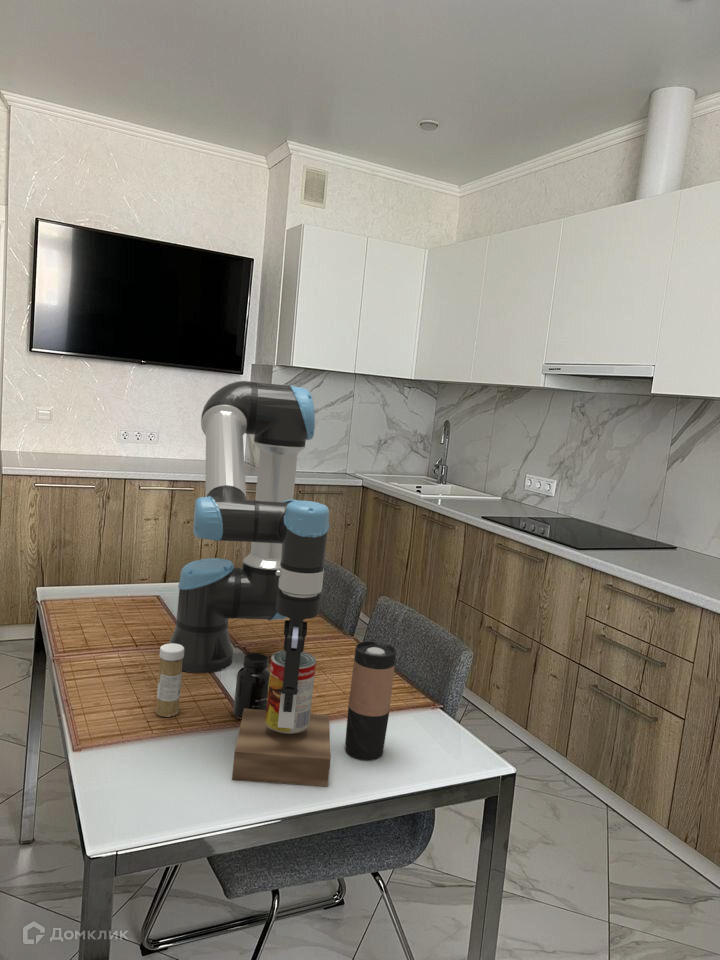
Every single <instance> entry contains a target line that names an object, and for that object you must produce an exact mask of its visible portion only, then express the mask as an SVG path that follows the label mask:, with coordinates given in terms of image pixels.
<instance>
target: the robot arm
mask: <svg viewBox="0 0 720 960" xmlns="http://www.w3.org/2000/svg"><path fill="white" fill-rule="evenodd" d="M315 417H316V415H315V405H314V400H313V396H312V393H311V392H310V390H308V389H307V388H304V387H299V386H294V385H291V384H289V385H288V384H275V383H267V382H265V383H264V382H255V381H248V380H240V381H235V382H231V383H228V384H226V385H224V386H223V387H221V388H219V389H218V390H217V391H215V392H214V393H213V394H212V395H211V396H210V397H209V398H208V400H207V401H206V403H205V405H204V406H203V409H202V412H201V417H200V424H201V425H200V426H201V430H202V432H203V434H204V436H205V478H204V479H205V481H204V483H205V485H204V486H205V489H204V490H205V491H204V492H205V495H204V496H201V497H197V499H196V500H195V503H194V513H193V528H192V529H193V530H192V531H193V535H194V536H195V538H198V539H202V540H211V541H215V542H217V541H218V542H219V541H220V542H221V541H224V542H227V541H229V542H248V543H251V545H250V552H249V554H248V555H246V556H245V557H244V558H243V559H242V560H243V561H242V566H241V567H235V565H234V563H233V561H232V560H230V559H225V558H220V557H212V558H211V557H210V558H201V559H197V560H193V561H191V562H189V563H186V564H185V565H183V567H182V568H181V570H180V576H179V577H180V578H179V582H178V585H177V588H178V598H177V599H178V600H177V611H176V620H175V628H174V631H173V633H172V636H171V637H170V640H169V643H168V644H170V643H175V644H180V645H182V646H183V647H184V657H183V662H182V672H187V673H193V672H194V673H193V674H195V673H197V674H203V673H204V674H206V673H207V672H208V673H215V672H219V671H222V670H225V669H227V668H228V667H230V666H231V665H232V663H233V660H234V659H233V657H234V656H233V655H234V652H233V651H234V650H233V646H232V642H231V638H230V633H229V629H228V627H229V626H228V624H229V619H239V620H240V619H241V620H267V621H272V620H273V621H274V620H284V626H283V627H284V628H283V636H284V643H283V650H285V651H286V659H285V668H284V678H283V688H282V689H278V693H281V699H280V708H279V718H278V728H291V729H293V727H294V718H295V708H296V699H297V693H298V689H297V685H298V675H299V666H300V656H301V652H304V649H305V641H306V640H305V638H306V637H307V634H308V622H307V621H305V620H307V619H309V620H310V619H313V618H315V617H317V616H318V615H319V613H320V608H321V607H320V606H321V599H322V598H321V597H322V596H321V594H320V593H321V592H323V591H322V590H323V583H324V572H325V568H324V567H325V559H326V558H325V557H326V549H327V542H328V532H329V529H330V522H329V521H330V509H329V508H328V506H327V505H325V504H323V503H320V502H317V501H312V500H311V501H310V500H298V499H294V495H295V494H294V493H295V485H296V477H297V476H296V474H297V465H298V464H297V462H298V455H299V453H301V451H302V450H304V449H305V448H306V441H310V440H313V438H314V434H315V430H316V429H315V426H316V420H315V419H316V418H315ZM244 435H253V436H254V437H253V443H254V445H255V446H256V448H257V449H258V450H259V455H258V456H259V458H258V466H257V467H258V468H257V476H256V478H257V479H256V490H255V500H254V499H253V500H251V499H247V488H246V486H247V485H246V470H245V469H246V468H245V451H244V449H245V448H244Z"/></svg>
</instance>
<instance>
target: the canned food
mask: <svg viewBox="0 0 720 960" xmlns="http://www.w3.org/2000/svg"><path fill="white" fill-rule="evenodd" d="M285 659H286V651H285V650H284V649H283V650H279V651H276V652H274V653H272V655H271V657H270V668H269V671H270V676H269V686H268V696H267V706H266V716H265V724H266V725H267V726H268V727H269V728H270V729H272V730H274V731H277V732H281V733H298V732H302V731H304V730H306V729H307V728H308V727H309V722H310V714H312V702H313V692H314V685H315V684H314V683H315V674H316V668H317V667H316V665H317V659H316V657H315V656H314V655H313V654H311V653H309V652H306V651H303V652H301V656H300V666H299V675H298V685H297V689H298V693H297V699H296V708H295V718H294V727H293V729H291V728H278V718H279V708H280V699H281V693H278V689H282V688H283V678H284V668H285Z"/></svg>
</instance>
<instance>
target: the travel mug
mask: <svg viewBox="0 0 720 960" xmlns="http://www.w3.org/2000/svg"><path fill="white" fill-rule="evenodd" d="M354 650H355V651H354V658H353V666H352V672H351V673H352V675H351V683H350V691H349V698H348V705H347V708H348V709H347V718H346V731H345V743H344V749H345V750H344V751H345V752H346V753H347V755H349V756H350V757H352V758H354V759H355V760H361V761H375V760H377V759H379V758H381V757H382V755H383V754H384V753H383V752H384V748H385V742H386V736H387V735H386V734H387V730H388V729H387V728H388V723H389V716H390V709H391V701H392V692H393V684H394V683H393V682H394V675H395V665H396V657H397V649H396V648H395V647H394V646H393V645H391V644H387V645H381V644H378V643H377V641H373V640H368V641H367V640H366V641H362V642H361V641H360V642H358V643H357V644H356V646H355V649H354Z"/></svg>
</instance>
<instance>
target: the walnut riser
mask: <svg viewBox="0 0 720 960" xmlns="http://www.w3.org/2000/svg"><path fill="white" fill-rule="evenodd" d="M265 716H266V710H257V709H244V710H243V715H242V720H241V719H240V723H239V725H240V726H239V729H238V734H237V738H236V739H237V740H236V743H235V744H236V745H235V748H234V756H233V767H232V775H231V776H232V778H231V781H243V782H244V781H245V782H256V783H257V782H258V783H273V784H287V785H288V784H289V785H298V786H299V785H301V786H314V787H317V786H318V787H326V786H327V787H329V776H330V769H331V760H332V758H331V757H332V755H331V733H330V715H328V714H318V713H310V722H309V727H308V728H307V729H306V730H304V731H302V732H298V733H281V732H277V731H274V730H272V729H270V728H269V727H268V726H267V725H266V724H265Z"/></svg>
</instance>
